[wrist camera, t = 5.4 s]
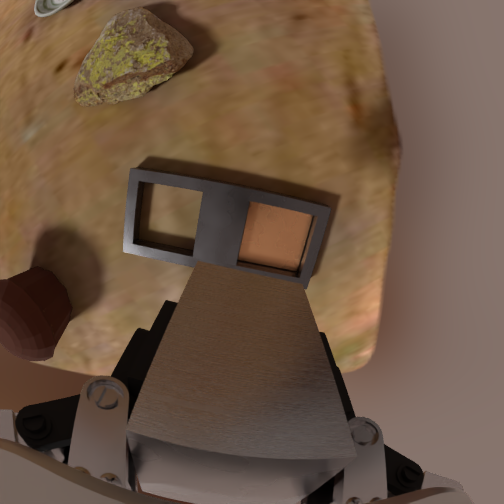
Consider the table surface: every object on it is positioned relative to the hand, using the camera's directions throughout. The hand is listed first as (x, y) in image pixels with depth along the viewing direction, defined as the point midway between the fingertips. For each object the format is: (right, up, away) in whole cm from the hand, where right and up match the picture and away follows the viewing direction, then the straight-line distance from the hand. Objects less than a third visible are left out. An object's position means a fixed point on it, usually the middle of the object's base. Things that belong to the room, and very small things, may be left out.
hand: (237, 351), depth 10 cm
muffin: (-27, -2, +19) cm, 33 cm away
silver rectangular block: (0, +1, +2) cm, 2 cm away
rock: (-11, +23, +10) cm, 27 cm away
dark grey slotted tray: (-2, +6, +15) cm, 17 cm away
